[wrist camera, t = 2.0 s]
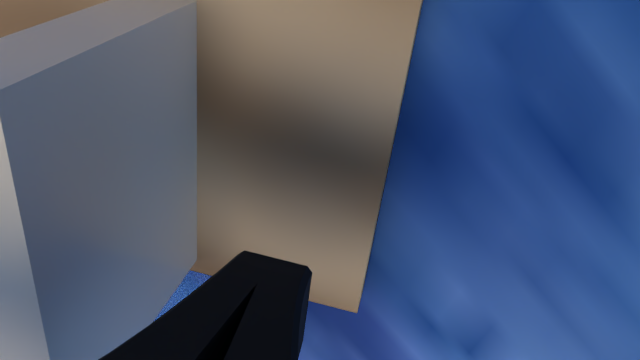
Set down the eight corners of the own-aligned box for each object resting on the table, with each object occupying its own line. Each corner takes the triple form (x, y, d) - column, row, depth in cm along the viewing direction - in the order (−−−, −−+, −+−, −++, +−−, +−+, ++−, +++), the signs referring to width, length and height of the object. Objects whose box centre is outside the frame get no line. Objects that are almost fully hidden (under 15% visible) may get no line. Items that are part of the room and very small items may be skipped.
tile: (197, 259, 17) (67, 443, 11) (149, 247, 17) (0, 422, 12) (196, 0, 13) (-6, 91, 7) (135, -11, 13) (-105, 70, 8)
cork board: (362, 291, 17) (356, 313, 17) (-43, 189, 20) (-67, 203, 19) (452, -138, 11) (450, -140, 10) (-154, -218, 13) (-196, -225, 13)
